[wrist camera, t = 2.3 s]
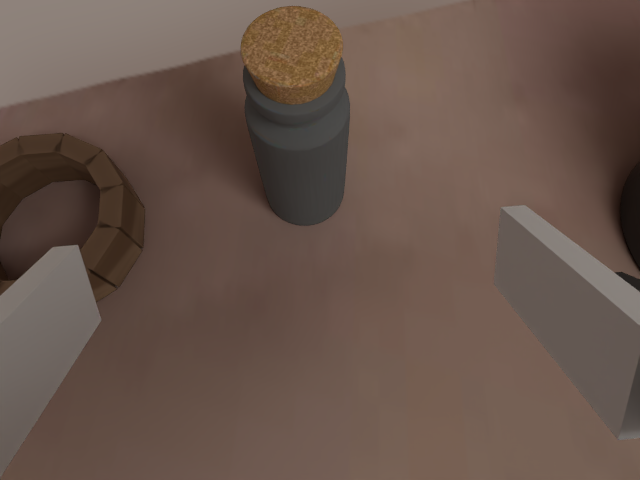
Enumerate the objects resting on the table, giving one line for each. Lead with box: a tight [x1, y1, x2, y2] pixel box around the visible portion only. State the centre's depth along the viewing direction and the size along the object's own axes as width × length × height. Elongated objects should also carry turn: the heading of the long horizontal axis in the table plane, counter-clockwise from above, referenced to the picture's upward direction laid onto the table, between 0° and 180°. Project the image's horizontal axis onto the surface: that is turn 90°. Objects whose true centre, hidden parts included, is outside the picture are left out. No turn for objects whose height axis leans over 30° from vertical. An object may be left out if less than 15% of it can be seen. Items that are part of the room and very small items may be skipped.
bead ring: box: [0, 133, 145, 302], centre depth 33 cm, size 12×12×4 cm
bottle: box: [241, 6, 350, 225], centre depth 29 cm, size 6×6×15 cm
